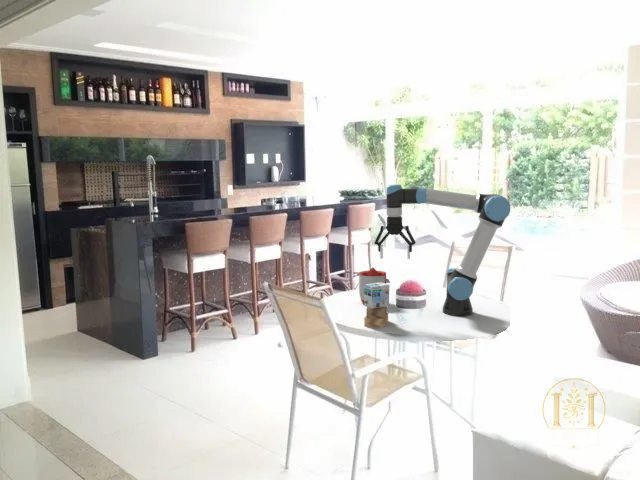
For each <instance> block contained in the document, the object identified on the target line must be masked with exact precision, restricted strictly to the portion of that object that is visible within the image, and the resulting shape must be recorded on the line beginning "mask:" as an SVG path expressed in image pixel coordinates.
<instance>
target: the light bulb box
mask: <svg viewBox="0 0 640 480" xmlns="http://www.w3.org/2000/svg"><path fill="white" fill-rule="evenodd" d="M363 304H364V307H366V308H367V307H369V308H371V309H373V308H380V307H387V308H388V307H389V306H390V283H383V282H380V283H372V284H365V288H364V303H363Z"/></svg>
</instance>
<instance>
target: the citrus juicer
mask: <svg viewBox="0 0 640 480" xmlns="http://www.w3.org/2000/svg"><path fill="white" fill-rule="evenodd" d="M380 282H383V283H386V284H391V281H390V279H389V278H387V272H386V271H382V270H376V268H374V267H370V269H369V270H362V271H359V272H358V292H359V298H360V302H361V303H362V304H364V288H365V284H372V283H380Z"/></svg>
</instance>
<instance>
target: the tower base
mask: <svg viewBox="0 0 640 480" xmlns="http://www.w3.org/2000/svg"><path fill="white" fill-rule="evenodd" d="M388 321H389V312H387V315H386V319H375V318H366V316H365V317H364V327H372V328H384V327H385V326H386V324H387V323H388Z"/></svg>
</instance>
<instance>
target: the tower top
mask: <svg viewBox="0 0 640 480" xmlns="http://www.w3.org/2000/svg"><path fill="white" fill-rule="evenodd" d="M365 312H366V315H365V317H366V318H375V319H386V315H387V313H388V306H387V307H380V308H373V309H371V308H369V307H366V311H365Z"/></svg>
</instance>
